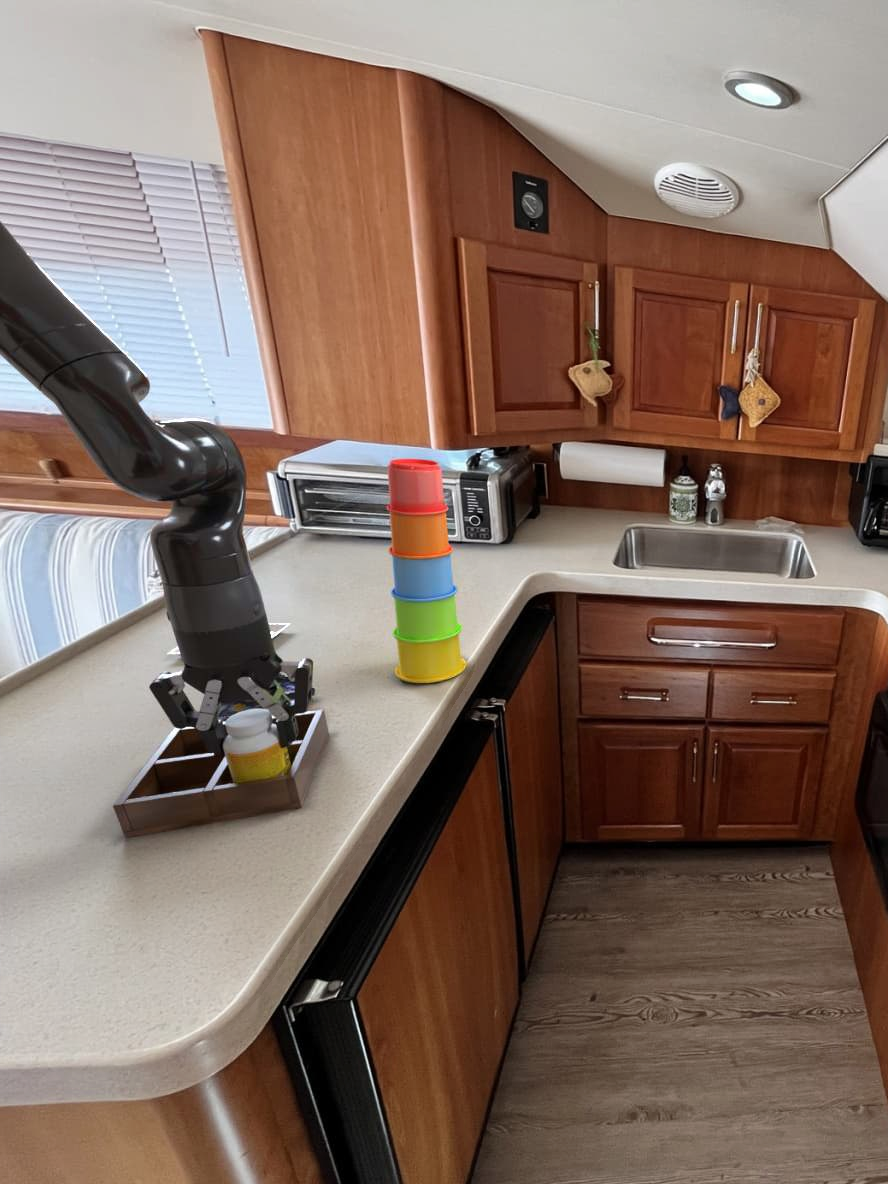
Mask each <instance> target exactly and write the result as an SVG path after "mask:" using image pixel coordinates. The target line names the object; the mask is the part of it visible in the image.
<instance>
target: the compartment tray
mask: <svg viewBox="0 0 888 1184" xmlns="http://www.w3.org/2000/svg"><path fill="white" fill-rule="evenodd" d="M325 713H326V712H325V709H317V710H316V709H315V710H308V711H306V712H305V713H302V714H299V713H298V714H296V715H295V717H296V721H297V725H298V730H299V732H298V735H297V737H296V740H295V741H294V742H292V744H291V746H290V747H287V750H288V755H289V759H290V763H291V768H290V771H289V773H288V775H284V776H278V777H271V778H265V779H258V780H252V781H245V782H239V783H233V780H232V777H231V773H230V770H229V766H228V763H227V759H226V756H221V757H215V756H214V753H209V752H208V751H207V750H206V748H205V744H204V741H203V738H202V735H201V732H200V730H198V729H197V728H194V727H185V728H183V729H178V728H175V727H174V728H173V729H172V730H171V732H169V734H168V735H167V737H166V738H164V740H163V742H161V744H160V745H159V746H158V748H157V749H156V750H155V751H154V753H153V754H152V755H151V757H150V758H149V759H148V761H147V762H146V763H145V764H144V766H143V767H142V768H141V769H140V771H139V772H138V773H137V775H136V776H135V777H134V779H132V780H131V782H130V783H129V784H128V786H127V787H126V789H125V790H124V791H123V792H122V793H121V794H120V796H119V798H117V800H116V801H115V802H114V804H113V805H112V807H113V810H114V813H115V815H116V818H117V821H118V823H119V826H120V828H121V831H122V834H123V837H124V838H125V839H128V838H133V837H140V836H145V835H146V836H147V835H151V834H155V833H162V832H168V831H173V830H180V829H185V828H192V827H196V826H197V827H198V826H203V825H208V824H215V823H219V822H225V821H232V820H236V819H237V820H238V819H243V818H249V817H255V816H260V815H265V814H272V813H277V812H282V811H289V810H295V809H301V808H302V807H303V805H304V802H305V800H306V796H307V794H308V793H309V792H308V791H310V790H309V789H310V787H311V784H312V782H313V780H314V777H315V774H316V772H317V769H318V767H319V764H320V762H321V759H322V756H323V754H324V751H325V749H326V746H327V744H328V741H329V738H330V732H329V727H328V723H327V718H326V714H325ZM271 716H272V719H273V722H272V724H275V725H276V723H275V722H276V720H277V719H276V718H275V717H274V715H271ZM222 722H223V725H224V729H225V732H226V735H227V736H228V735H229V734H228V733H227V731H226V726H225V722H226V721H222Z"/></svg>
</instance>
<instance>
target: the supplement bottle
mask: <svg viewBox="0 0 888 1184" xmlns="http://www.w3.org/2000/svg"><path fill="white" fill-rule="evenodd" d="M272 716H273V715H272V713H271V712H270V711H269V710H268V709H250V710H245V711H242V712H239V713H236V714H234V715H231V716H228V718H227V719H226V720H225V721H224V722H225V726H226V731H227V733H228V734H229V735H228V736H227V737H226V738H225V740H224V742H223V749H224V753H225V756H226V759H227V763H228V766H229V770H230V773H231V777H232V780H233V783H239V782H245V781H252V780H258V779H265V778H271V777H278V776H284V775H288V773H289V771H290V768H291V763H290V759H289V755H288V750H287V747H284V748H282V746H281V742H280V739H279V735H278V731H277V727H276V725H275V724H272V722H273V719H272Z"/></svg>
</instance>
